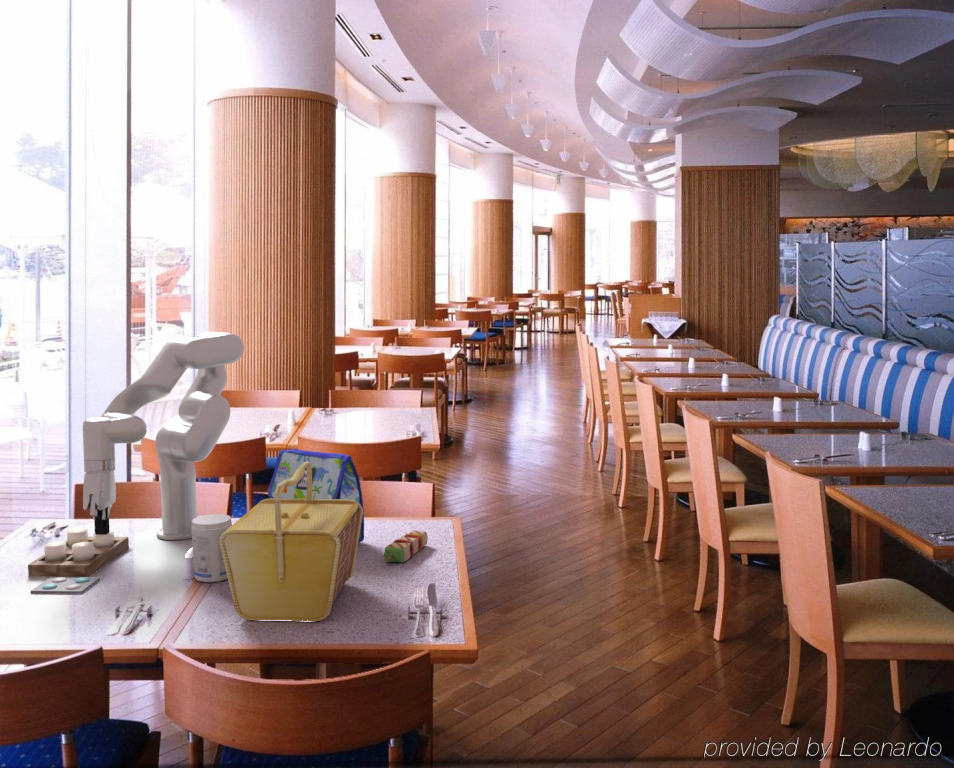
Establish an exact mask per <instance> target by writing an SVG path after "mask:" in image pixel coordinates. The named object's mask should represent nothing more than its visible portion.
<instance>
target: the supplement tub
mask: <svg viewBox="0 0 954 768" xmlns="http://www.w3.org/2000/svg"><path fill="white" fill-rule="evenodd" d="M198 516H199V517H196V518H194V519H193V520H192V538H191V541H192V543H191V544H192V545H191V546H192V560H193V561H192V562H193V575H194V579H195V580H197V581H198V582H201V583H218V582H222V581H226V580H227V581H228V578H227V574H226V569H225V565H224V561H223V557H222V552H221V548H220V544H219V540H220V537H221V535H222V533H224V532H225V531H226V530H227V529H229V528H230V527H231V526H232V525H233V522H232V517H231V516H230V515H228V514H223V513H211V514H204V515H198Z"/></svg>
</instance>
